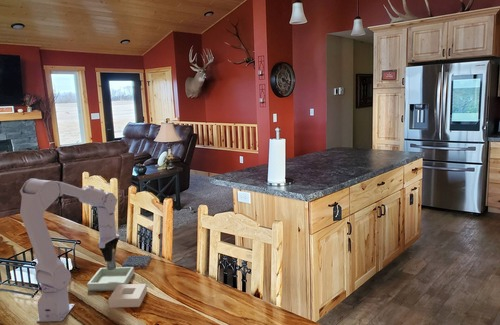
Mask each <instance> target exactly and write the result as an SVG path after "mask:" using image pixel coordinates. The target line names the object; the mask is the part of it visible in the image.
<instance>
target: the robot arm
mask: <svg viewBox="0 0 500 325" xmlns="http://www.w3.org/2000/svg"><path fill="white" fill-rule="evenodd" d="M20 188H21V189H20V190H19V193H20V195H21V200H20V202H21V203H20V209H19V213H20V217H21V220H22V222H23V225H24V228H25V230H26V231H25V232H26V233H27V236H28V238H29V241H30V243H31V247H32V249H33V253H34V255H35V258H36V260H37V263H36V264H35V265H34V269H35V275H34V276H35V280H36V282H37V283H38V284H40V288H41V295H40V297H39V299H38V300H37V312H38V318H36V322H37V323H39V322H40V323H41V322H42V323H43V322H47V323H48V322H62V321H63V320H64V319H65V318H66V317H67V316H68V314H69V313H70V312H71V311H72V310H73V308H74V307H75V303H70V299H69V292H68V290H69V289H68V286H69V284H70V283H71V279H72V273H71V271H70V270H69V269H68V268H67V267H66V265H65V263H64V262H63V261H62V260H60V258H59V257H58V255H57V251H56V250H55V247H54V246H55V245H54V244H53V240H52V238H51V235H50V232H49V229H48V226H47V223H46V220H45V217H44V212H45V211H46V210H47V209H48V208H49V207H50V206H51V205H52V204H53V203H54V202H55V201H56V200H57V199H58V197H62V196H63V195H66V196H71V197H75V198H77V199H78V200H79V202H80V203H83V204H86V205H89V206H94V207H95V208H96V209H97V210H96V211H97V219H98V230H99V232H98V233H99V236H98V243H97V248H98V249H99V250H100V252H101V253H102V257H103V258H104V261H105V262H106V263H107V262H110V261H112V251H113V248H114V251H115V254H116V251H117V246H118V242H119V240H120V236H121V235H120V234H118V228H117V226H116V214H115V212H116V206H117V203H118V199H117V197H116V196H115V194H114V193H112V192H108V191H107V192H106V191H105V189H101V188H99V189H98V188H95V186H93V185H90V184H89V185H88V186H87V185H85V186H83V187H77V186H75V185H73V184H69V183H67V182H63V181H57V180H47V179H39V178H34V177H33V178H29V179H27V180H26V181H25V182H24V184H23V185H22V187H20Z"/></svg>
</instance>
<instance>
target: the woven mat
mask: <svg viewBox="0 0 500 325" xmlns="http://www.w3.org/2000/svg"><path fill="white" fill-rule="evenodd" d="M152 259H153V257H152V255H149V254H148V255H146V254H144V255H142V254H140V255H138V254H137V255H135V254H133V255H129V256H127V258H126V259H125V260H124V261H123V262H122V264H121V267H134V270H136V269H138V268H139V269H147V267H148V265H150V264H149V263H150V262H151V261H152Z"/></svg>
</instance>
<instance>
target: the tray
mask: <svg viewBox="0 0 500 325" xmlns="http://www.w3.org/2000/svg"><path fill="white" fill-rule="evenodd" d="M134 275H135V269H134V267H122V266H121V267H120V266H119V267H117V266H116V268H115V269H114V270H108V269H107V267H99V269H98V270H97V271H96V273H95V274H94V275H93V276H92V277H91V279H90V280H89V281H88V282H87V284H86V286H87V292H104V291H105V292H106V291H114V290H115V288H116V287H117V285H119V284H130V281H131V280H132V278H133V277H134Z"/></svg>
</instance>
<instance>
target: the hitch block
mask: <svg viewBox="0 0 500 325" xmlns="http://www.w3.org/2000/svg"><path fill="white" fill-rule="evenodd" d="M112 291H113V292H112V293H111V294H110V296H109V297H108V299H107V300H108V308H109V309H111V308H139V307H141V304H142V303H143V301H144V299H145V296H146V294H147V292H148V290H147V283H128V284H119V285H117V287H116V288H115V290H112Z"/></svg>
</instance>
